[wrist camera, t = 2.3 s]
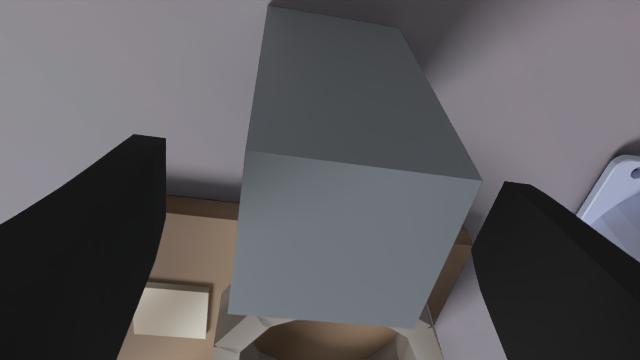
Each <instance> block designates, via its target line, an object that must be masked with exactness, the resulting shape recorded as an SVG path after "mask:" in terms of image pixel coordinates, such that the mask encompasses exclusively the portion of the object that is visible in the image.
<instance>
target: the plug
mask: <svg viewBox="0 0 640 360" xmlns="http://www.w3.org/2000/svg"><path fill="white" fill-rule="evenodd" d="M482 182H483V180H482V178H481V177H480V175H479V173H478V171H477V169H476V167H475V166H474V164H473V162H472V160H471V158H470V157H469V155H468V153H467V151H466V149H465V147H464V146H463V144H462V142H461V140H460V138H459V137H458V135H457V133H456V131H455V129H454V127H453V126H452V124H451V122H450V120H449V118H448V117H447V115H446V113H445V111H444V109H443V107H442V106H441V104H440V102H439V100H438V98H437V96H436V95H435V93H434V91H433V89H432V87H431V86H430V84H429V82H428V80H427V78H426V76H425V75H424V73H423V71H422V69H421V67H420V66H419V64H418V62H417V60H416V58H415V56H414V55H413V53H412V51H411V49H410V47H409V46H408V44H407V42H406V40H405V38H404V36H403V35H402V33H401V31H400V29H399V28H397V27H391V26H386V25H380V24H374V23H368V22H362V21H357V20H351V19H345V18H339V17H334V16H328V15H322V14H316V13H310V12H305V11H299V10H293V9H287V8H281V7H276V6H270V5H268V8H267V15H266V21H265V27H264V34H263V40H262V47H261V53H260V60H259V66H258V72H257V79H256V85H255V92H254V98H253V105H252V111H251V117H250V124H249V130H248V137H247V143H246V150H245V159H244V168H243V177H242V186H241V195H240V205H239V214H238V223H237V232H236V241H235V251H234V260H233V269H232V278H231V287H230V297H229V306H228V314H235V315H247V316H260V317H272V318H284V319H297V320H309V321H322V322H334V323H346V324H359V325H371V326H384V327H396V328H409V329H414V328H415V326H416V323H417V321H418V319H419V317H420V315H421V313H422V311H423V308H424V306H425V304H426V302H427V300H428V298H429V296H430V293H431V291H432V289H433V287H434V285H435V283H436V281H437V278H438V276H439V274H440V272H441V270H442V268H443V266H444V263H445V261H446V259H447V257H448V255H449V253H450V251H451V248H452V246H453V244H454V242H455V240H456V238H457V235H458V233H459V231H460V229H461V227H462V225H463V223H464V220H465V218H466V216H467V214H468V212H469V210H470V208H471V205H472V203H473V201H474V199H475V197H476V195H477V193H478V190H479V188H480V186H481V184H482Z"/></svg>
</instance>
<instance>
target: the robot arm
mask: <svg viewBox="0 0 640 360" xmlns="http://www.w3.org/2000/svg"><path fill="white" fill-rule="evenodd" d="M636 168H638V169H637V170H636V171H634V172H632V171H633V170H634V169H636ZM165 220H166V138H160V137H152V136H144V135H136V134H133V135H132V136H131V137H129V138H128V139H126V140H125V141H124V142H122V143H121V144H119V145H118V146H117V147H115V148H114V149H113V150H111V151H110V152H109V153H107V154H106V155H105V156H103V157H102V158H101V159H99V160H98V161H96V162H95V163H94V164H92V165H91V166H90V167H88V168H87V169H86V170H84V171H83V172H81V173H80V174H78V175H77V176H76V177H74V178H73V179H71V180H70V181H69V182H67V183H66V184H64V185H63V186H61V187H60V188H59V189H57V190H55V191H54V192H52V193H51V194H49V195H48V196H46V197H44V198H43V199H41V200H40V201H38V202H36V203H35V204H33V205H32V206H30V207H29V208H27V209H25V210H24V211H22V212H21V213H19V214H17V215H16V216H14V217H12V218H11V219H9V220H7V221H6V222H4V223H2V224H0V360H117V357H118V355H119V352H120V350H121V347H122V345H123V342H124V340H125V337H126V335H127V332H128V330H129V327H130V324H131V322H132V319H133V317H134V314H135V312H136V309H137V307H138V304H139V302H140V299H141V297H142V294H143V291H144V289H145V286H146V284H147V281H148V278H149V276H150V273H151V271H152V268H153V265H154V263H155V260H156V256H157V252H158V249H159V245H160V241H161V237H162V233H163V228H164V224H165ZM471 252H472V257H473V262H474V266H475V271H476V275H477V279H478V283H479V287H480V290H481V293H482V296H483V299H484V301H485V304H486V306H487V309H488V311H489V314H490V317H491V319H492V322H493V324H494V327H495V329H496V332H497V334H498V337H499V339H500V342H501V344H502V347H503V349H504V352H505V354H506V357H507V359H508V360H640V156H633V155H621V156H618V157H616V158H614V159H613V160H612V161H611V162H610V163H609V164H608V166H607V167H606V169H605V170H604V172H603V174H602V175H601V177H600V178H599V180H598V181H597V183H596V185H595V186H594V188H593V189H592V191H591V192H590V194H589V196H588V197H587V199H586V200H585V202H584V203H583V205H582V207H581V208H580V210H579V211H578V213H577V214H576V215H575V214H573V213H572V212H571V211H569V210H568V209H566V208H565V207H564V206H562V205H561V204H560V203H558V202H557V201H555V200H554V199H552V198H551V197H550V196H548V195H547V194H545V193H544V192H542V191H540V190H539V189H537V188H535V187H534V186H532V185H529V184H521V183H514V182H506V181H505V182H504V184H503V186H502V188H501V190H500V192H499V194H498V196H497V198H496V200H495V202H494V204H493V206H492V208H491V210H490V212H489V214H488V216H487V218H486V220H485V222H484V224H483V226H482V228H481V230H480V232H479V234H478V236H477V238H476V240H475V242H474V244H473V246H472V248H471Z"/></svg>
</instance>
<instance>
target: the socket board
mask: <svg viewBox="0 0 640 360" xmlns="http://www.w3.org/2000/svg"><path fill="white" fill-rule="evenodd" d="M239 205H240V204H239V203H230V202H221V201H213V200H204V199H195V198H186V197H177V196H168V195H166V220H165V224H164V228H163V233H162V237H161V241H160V245H159V249H158V252H157V256H156V260H155V263H154V265H153V268H152V271H151V273H150V276H149V278H148V281H147V284H146V286H145V289H144V291H143V294H142V297H141V299H140V302H139V304H138V307H137V309H136V312H135V314H134V317H133V319H132V322H131V324H130V327H129V330H128V332H127V335H126V337H125V340H124V342H123V345H122V347H121V350H120V352H119V355H118V357H117V360H444V359H443V356H442V352H441V349H440V345H439V342H438V338H437V335H436V331H435V328H434V324H435V322H436V320H437V318H438V316H439V314H440V312H441V310H442V308H443V306H444V304H445V302H446V300H447V298H448V296H449V294H450V292H451V290H452V288H453V286H454V284H455V282H456V280H457V278H458V276H459V274H460V272H461V270H462V268H463V266H464V264H465V262H466V260H467V258H468V256H469V254H470V252H471V248H472V246H473V244H472V241H471V239H470V237H469V235H468V232H467V230H466V229H460V231H459V233H458V235H457V238H456V240H455V242H454V244H453V246H452V248H451V251H450V253H449V255H448V257H447V259H446V261H445V263H444V266H443V268H442V270H441V272H440V274H439V276H438V278H437V281H436V283H435V285H434V287H433V289H432V291H431V293H430V296H429V298H428V300H427V302H426V304H425V306H424V308H423V311H422V313H421V315H420V317H419V319H418V321H417V323H416V326H415V328H414V329H409V328H396V327H384V326H371V325H359V324H346V323H334V322H322V321H309V320H297V319H284V318H272V317H260V316H247V315H235V314H228V306H229V297H230V287H231V278H232V269H233V260H234V251H235V241H236V232H237V223H238V214H239Z"/></svg>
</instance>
